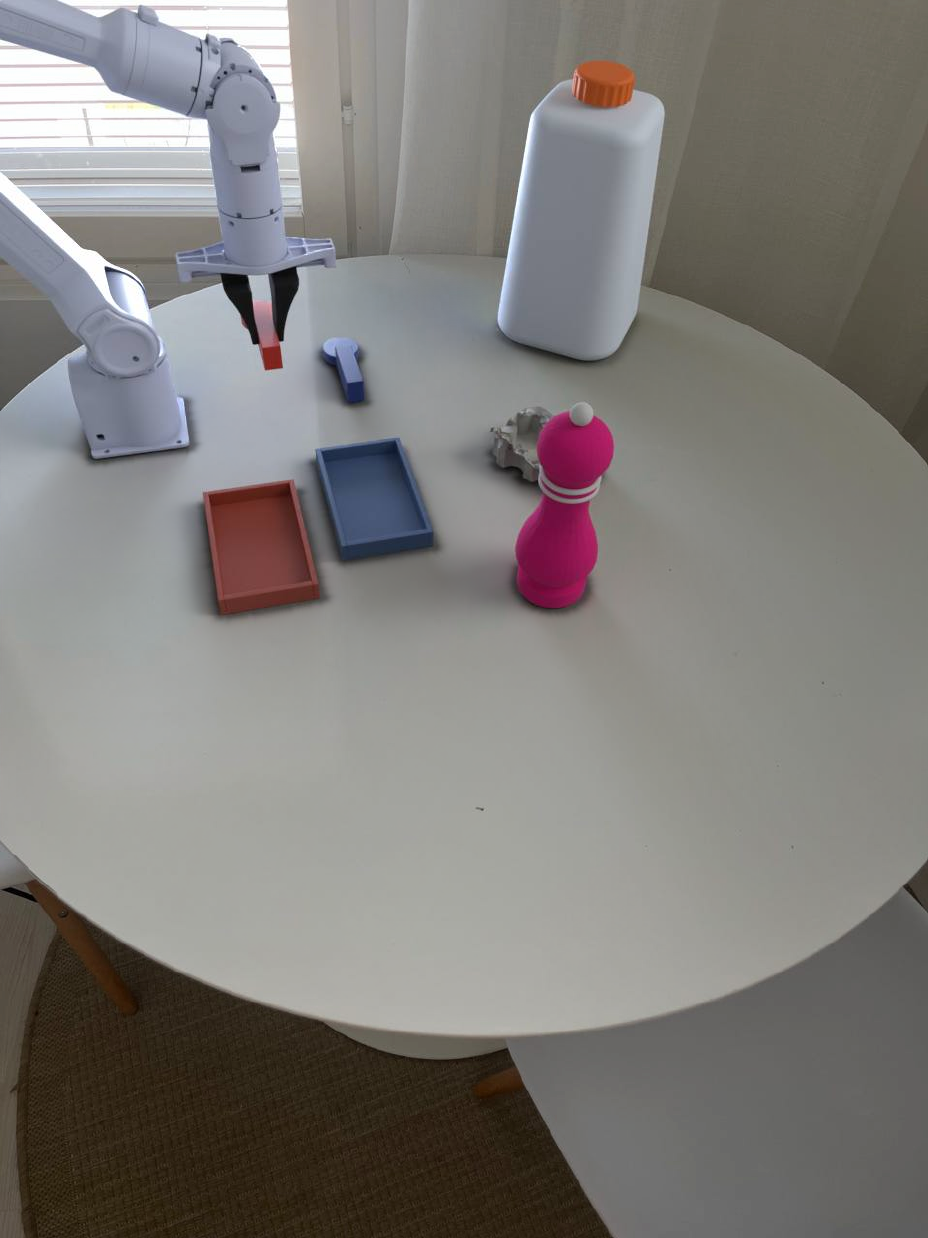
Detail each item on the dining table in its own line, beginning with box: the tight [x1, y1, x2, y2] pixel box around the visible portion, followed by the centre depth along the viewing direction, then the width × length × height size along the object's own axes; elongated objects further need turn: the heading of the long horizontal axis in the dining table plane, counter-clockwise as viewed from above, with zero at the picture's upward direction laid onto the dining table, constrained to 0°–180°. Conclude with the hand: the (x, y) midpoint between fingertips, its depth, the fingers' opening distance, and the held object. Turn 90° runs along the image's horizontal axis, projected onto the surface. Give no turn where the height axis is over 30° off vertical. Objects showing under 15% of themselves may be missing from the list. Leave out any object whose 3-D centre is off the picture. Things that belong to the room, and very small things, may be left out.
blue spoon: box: [322, 336, 365, 404], centre depth 101 cm, size 11×4×3 cm, turn 16°
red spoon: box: [240, 300, 284, 371], centre depth 92 cm, size 11×4×3 cm, turn 16°
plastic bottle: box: [497, 60, 666, 362], centre depth 100 cm, size 15×15×28 cm
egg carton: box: [489, 406, 555, 483], centre depth 92 cm, size 11×8×4 cm
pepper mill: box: [514, 401, 615, 609], centre depth 75 cm, size 7×7×20 cm
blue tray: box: [315, 436, 434, 562], centre depth 88 cm, size 9×14×2 cm, turn 16°
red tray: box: [202, 478, 321, 616], centre depth 83 cm, size 9×14×2 cm, turn 16°
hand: (267, 337), depth 91 cm, fingers closed on red spoon, 2 cm apart
